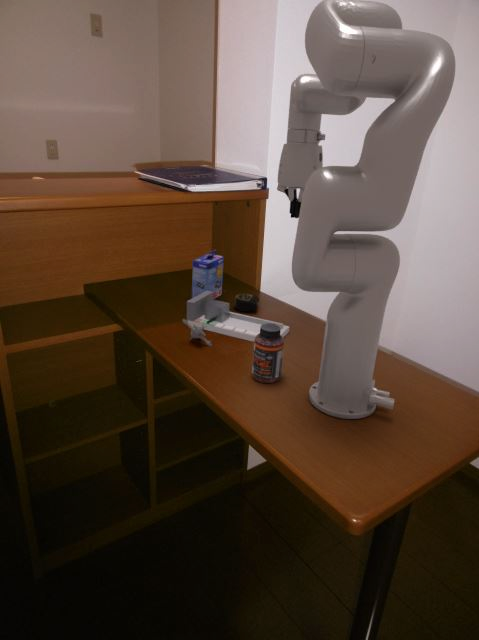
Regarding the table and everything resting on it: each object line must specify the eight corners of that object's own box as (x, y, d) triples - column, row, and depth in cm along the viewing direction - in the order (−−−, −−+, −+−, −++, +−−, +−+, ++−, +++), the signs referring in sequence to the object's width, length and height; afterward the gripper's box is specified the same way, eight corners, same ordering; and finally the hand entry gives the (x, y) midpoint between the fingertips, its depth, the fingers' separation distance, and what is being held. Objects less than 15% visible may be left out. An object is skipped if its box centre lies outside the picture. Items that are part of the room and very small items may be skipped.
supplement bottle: (247, 380, 92) (250, 329, 88) (257, 367, 97) (260, 318, 93) (275, 387, 90) (280, 335, 86) (284, 373, 95) (289, 324, 91)
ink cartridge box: (207, 304, 131) (208, 255, 125) (190, 300, 133) (191, 252, 127) (223, 294, 139) (224, 248, 134) (207, 291, 141) (208, 245, 136)
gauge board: (288, 331, 115) (291, 308, 113) (273, 346, 107) (276, 321, 104) (206, 313, 125) (206, 290, 122) (186, 325, 116) (186, 301, 114)
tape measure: (256, 314, 125) (257, 302, 124) (231, 312, 126) (232, 299, 125) (258, 306, 132) (259, 294, 130) (235, 304, 132) (235, 291, 131)
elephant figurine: (218, 335, 112) (219, 338, 104) (203, 351, 112) (203, 355, 103) (190, 310, 111) (190, 310, 103) (175, 326, 111) (173, 328, 103)
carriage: (229, 317, 118) (229, 303, 117) (216, 326, 112) (216, 311, 111) (212, 313, 120) (212, 299, 119) (198, 322, 114) (199, 307, 113)
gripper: (338, 140, 107) (328, 218, 114) (279, 136, 113) (273, 212, 120) (329, 139, 101) (320, 223, 108) (267, 136, 107) (262, 215, 114)
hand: (295, 217), depth 114 cm, fingers closed
